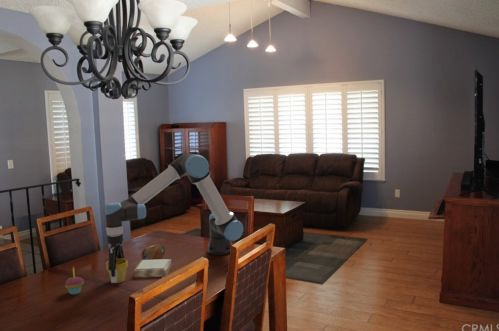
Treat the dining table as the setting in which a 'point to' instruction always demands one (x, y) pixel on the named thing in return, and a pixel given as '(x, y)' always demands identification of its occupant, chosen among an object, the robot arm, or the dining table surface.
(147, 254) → the tin
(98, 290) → the dining table surface
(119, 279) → the plant pot
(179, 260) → the dining table surface
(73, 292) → the cupcake
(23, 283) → the dining table surface
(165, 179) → the robot arm
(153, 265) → the plinth
